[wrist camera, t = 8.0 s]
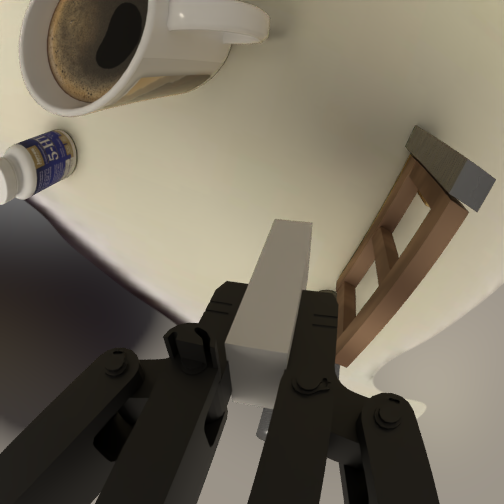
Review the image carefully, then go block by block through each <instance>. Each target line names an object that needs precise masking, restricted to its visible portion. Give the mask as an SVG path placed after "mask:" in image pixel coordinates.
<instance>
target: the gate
mask: <svg viewBox="0 0 504 504" xmlns="http://www.w3.org/2000/svg"><path fill="white" fill-rule="evenodd" d="M418 190H419V191H420V193H421V194H422V196H423V197H424V199H425V200H426V202H427V203H428V205H429V207H430V208H431V210H430V211H429V213H428V215H427V216H426V218H425V219H424V221H423V223H422V224H421V226H420V227H419V229H418V230H417V232H416V233H415V235H414V236H413V238H412V240H411V241H410V243H409V244H408V246H407V247H406V248H405V250H404V251H403V253H402V254H401V256H400V257H398V253H397V250H396V246H395V243H394V239H393V236H392V233H393V231H394V229H395V228H396V226H397V225H398V223H399V221H400V220H401V218H402V217H403V215H404V213H405V212H406V210H407V208H408V207H409V205H410V203H411V202H412V200H413V198H414V197H415V195H416V193H417V191H418ZM468 213H469V212H468V211H467V210H466V208H465V207H464V206H463V205H462V204H461V202H460V201H458V200H457V199H456V198H455V197H454V196H452V195H450V194H449V193H448V192H447V191H446V190H445V188H444V187H443V186H442V185H441V184H440V183H439V182H438V181H437V179H436V178H435V177H434V176H433V175H432V174H431V173H430V172H429V171H428V170H427V169H426V167H425V166H424V165H423V164H422V163H421V162H420V161H419V160H418V159H416V158H415V157H413V156H411V157H410V159H409V161H408V163H407V165H406V167H405V168H404V170H403V172H402V174H401V176H400V178H399V179H398V181H397V183H396V185H395V187H394V188H393V190H392V192H391V194H390V195H389V197H388V199H387V201H386V202H385V204H384V206H383V208H382V209H381V211H380V213H379V214H378V216H377V218H376V219H375V221H374V223H373V224H372V226H371V228H370V229H369V231H368V233H367V234H366V236H365V238H364V239H363V241H362V243H361V244H360V246H359V247H358V249H357V251H356V252H355V254H354V255H353V257H352V258H351V260H350V262H349V263H348V265H347V266H346V268H345V269H344V271H343V273H342V274H341V276H340V277H339V279H338V280H337V283H336V292H337V302H338V304H339V307H338V327H337V342H336V356H335V363H336V364H339V365H341V366H344V367H348V366H349V365H350V364H351V363H352V362H353V361H354V359H355V358H356V357H357V356H358V355H359V354H360V353H361V352H362V351H363V350H364V349H365V348H366V347H367V345H368V344H369V343H370V342H371V341H372V340H373V339H374V338H375V337H376V335H377V334H378V333H379V332H380V331H381V330H382V329H383V327H384V326H385V325H386V324H387V323H388V322H389V320H390V319H391V318H392V317H393V316H394V315H395V313H396V312H397V311H398V310H399V309H400V307H401V306H402V305H403V304H404V302H405V301H406V300H407V299H408V297H409V296H410V295H411V294H412V292H413V291H414V290H415V289H416V287H417V286H418V285H419V283H420V282H421V281H422V279H423V278H424V277H425V276H426V274H427V273H428V272H429V270H430V269H431V267H432V266H433V265H434V263H435V262H436V261H437V259H438V258H439V256H440V255H441V254H442V252H443V251H444V249H445V248H446V246H447V245H448V244H449V242H450V241H451V239H452V238H453V236H454V235H455V233H456V232H457V230H458V229H459V227H460V226H461V224H462V222H463V221H464V219H465V218H466V216H467V215H468ZM374 260H375V263H376V269H377V277H378V284H379V287H378V288H377V289H376V291H375V292H374V294H373V295H372V296H371V298H370V299H369V300H368V301H367V303H366V304H365V305H364V307H363V308H362V309H361V311H360V312H359V313H358V314H357V316H356V296H355V288H356V287H357V285H358V284H359V282H360V281H361V279H362V278H363V276H364V275H365V274H366V272H367V271H368V269H369V268H370V266H371V265H372V263H373V262H374Z"/></svg>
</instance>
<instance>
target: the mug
mask: <svg viewBox="0 0 504 504" xmlns="http://www.w3.org/2000/svg"><path fill="white" fill-rule="evenodd" d="M269 26H270V17H269V16H268V15H267V14H266V13H265V12H264V11H263V10H262V9H260V8H258V7H256V6H254V5H251V4H248V3H245V2H241V1H237V0H31V1H30V3H29V5H28V7H27V10H26V12H25V15H24V19H23V22H22V26H21V31H20V38H19V63H20V69H21V73H22V77H23V80H24V83H25V85H26V88H27V89H28V91H29V93H30V95H31V96H32V97H33V99H34V100H35V101H36V102H37V103H38V104H39V105H40V106H41V107H42V108H44V109H45V110H47V111H49V112H51V113H53V114H56V115H60V116H63V117H76V116H83V115H86V114H90V113H94V112H98V111H101V110H105V109H109V108H114V107H118V106H122V105H127V104H131V103H136V102H141V101H146V100H151V99H156V98H162V97H167V96H173V95H179V94H183V93H187V92H189V91H192V90H194V89H196V88H198V87H200V86H201V85H203V84H204V83H206V82H207V81H208V80H209V79H211V78H212V77H213V76H214V75H215V74H216V72H217V71H218V70H219V69H220V67H221V66H222V65H223V63H224V61H225V59H226V57H227V56H228V53H229V50H230V48H231V45H232V44H257V43H262V42H263V41H265V40H266V39H267V38H268V36H269Z"/></svg>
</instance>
